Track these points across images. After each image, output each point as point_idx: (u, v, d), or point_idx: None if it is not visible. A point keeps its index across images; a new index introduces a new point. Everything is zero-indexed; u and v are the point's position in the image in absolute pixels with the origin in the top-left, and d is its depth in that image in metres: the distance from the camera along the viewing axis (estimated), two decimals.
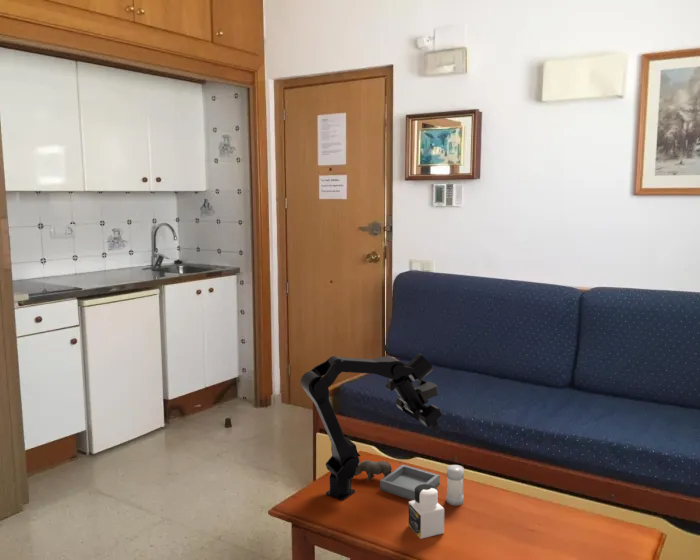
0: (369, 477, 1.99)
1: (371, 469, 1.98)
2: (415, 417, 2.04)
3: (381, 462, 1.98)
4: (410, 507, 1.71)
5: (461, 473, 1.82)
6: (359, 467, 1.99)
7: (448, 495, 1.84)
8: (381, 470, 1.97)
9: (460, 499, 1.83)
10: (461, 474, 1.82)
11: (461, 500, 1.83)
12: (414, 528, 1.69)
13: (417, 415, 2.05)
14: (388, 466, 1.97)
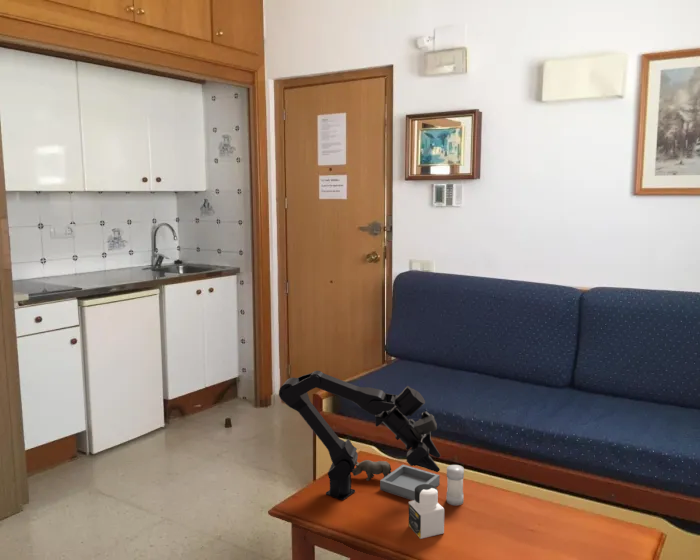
0: (369, 477, 1.99)
1: (371, 469, 1.98)
2: (429, 451, 1.89)
3: (381, 462, 1.98)
4: (410, 507, 1.71)
5: (461, 473, 1.82)
6: (359, 467, 1.99)
7: (448, 495, 1.84)
8: (381, 470, 1.97)
9: (460, 499, 1.83)
10: (461, 474, 1.82)
11: (461, 500, 1.83)
12: (414, 528, 1.69)
13: (431, 449, 1.89)
14: (388, 466, 1.98)
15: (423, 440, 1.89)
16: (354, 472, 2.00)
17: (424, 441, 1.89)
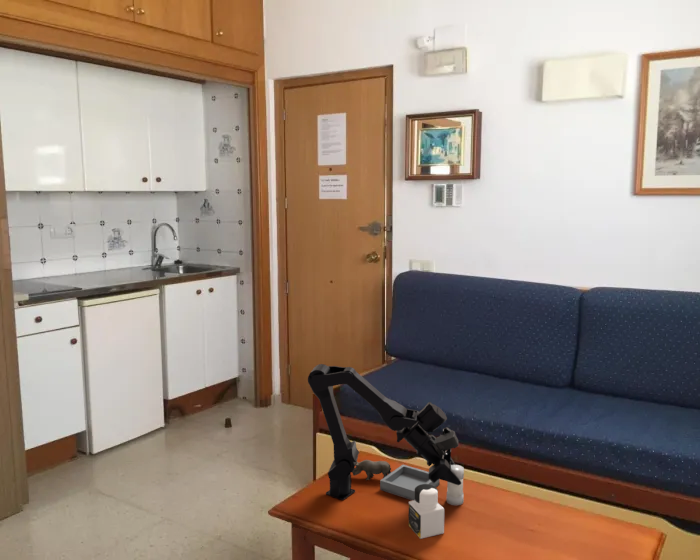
0: (368, 477, 1.99)
1: (371, 469, 1.98)
2: None
3: (380, 462, 1.98)
4: (410, 507, 1.71)
5: (461, 473, 1.82)
6: (358, 467, 1.99)
7: (448, 495, 1.84)
8: (380, 470, 1.97)
9: (460, 499, 1.83)
10: (461, 474, 1.82)
11: (461, 500, 1.83)
12: (414, 528, 1.69)
13: None
14: (387, 466, 1.98)
15: (443, 459, 1.87)
16: (354, 472, 2.00)
17: None
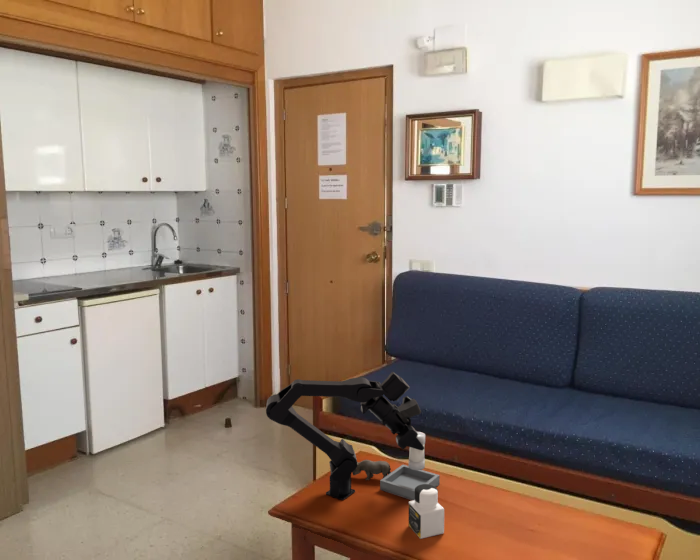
0: (368, 477, 1.99)
1: (370, 469, 1.98)
2: None
3: (380, 462, 1.98)
4: (410, 507, 1.71)
5: (424, 438, 1.89)
6: (358, 466, 1.99)
7: (411, 461, 1.90)
8: (380, 470, 1.98)
9: (423, 464, 1.90)
10: (424, 439, 1.89)
11: (423, 465, 1.90)
12: (414, 528, 1.69)
13: None
14: (387, 466, 1.98)
15: None
16: (353, 472, 2.00)
17: None
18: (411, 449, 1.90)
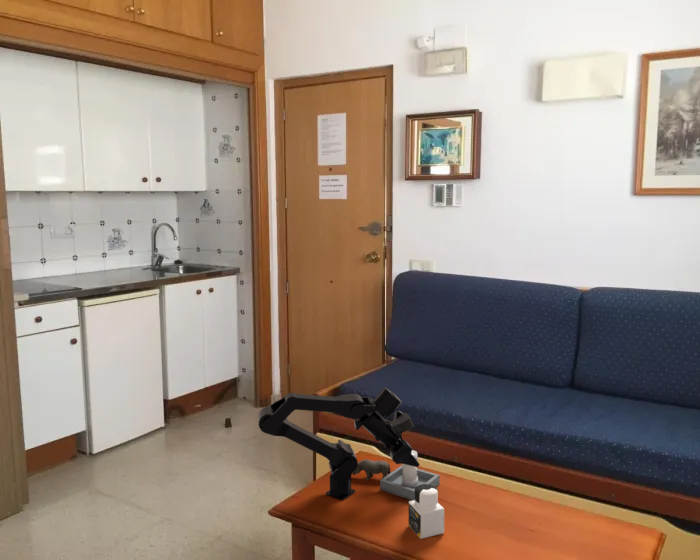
0: (368, 476, 1.99)
1: (370, 469, 1.98)
2: None
3: (380, 462, 1.98)
4: (410, 507, 1.71)
5: (416, 456, 1.91)
6: (358, 466, 2.00)
7: (404, 479, 1.92)
8: (380, 470, 1.98)
9: (416, 481, 1.92)
10: (416, 457, 1.91)
11: (417, 482, 1.93)
12: (414, 528, 1.69)
13: None
14: (387, 466, 1.98)
15: None
16: (353, 471, 2.00)
17: None
18: (404, 468, 1.92)
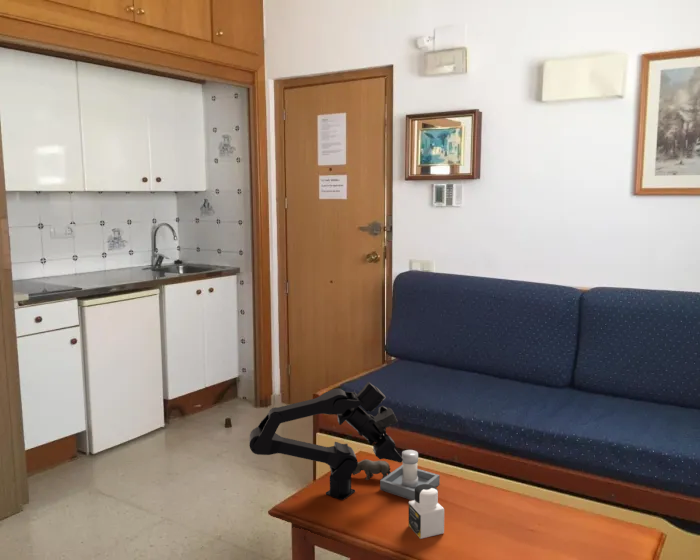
0: (368, 476, 1.99)
1: (370, 469, 1.98)
2: None
3: (380, 462, 1.99)
4: (410, 507, 1.71)
5: (417, 457, 1.91)
6: (358, 466, 2.00)
7: (405, 479, 1.92)
8: (379, 470, 1.98)
9: (416, 481, 1.92)
10: (417, 457, 1.91)
11: (417, 482, 1.93)
12: (414, 528, 1.69)
13: None
14: (386, 466, 1.98)
15: None
16: (353, 471, 2.00)
17: None
18: (404, 468, 1.92)
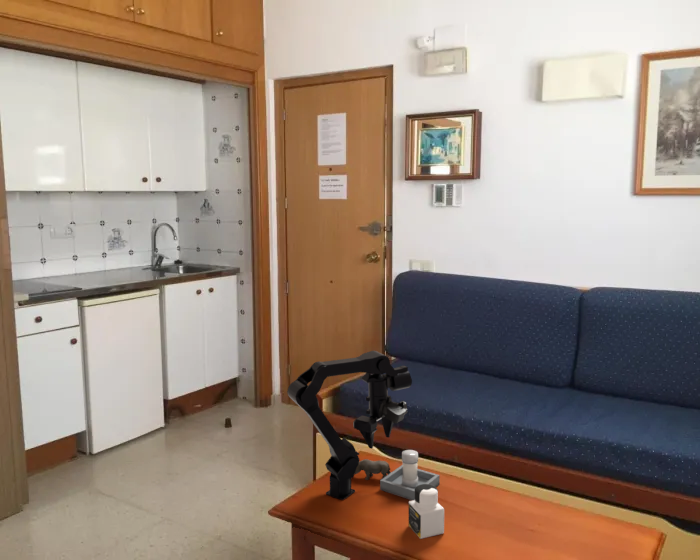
0: (367, 476, 1.99)
1: (370, 469, 1.98)
2: (384, 426, 1.99)
3: (379, 462, 1.99)
4: (410, 507, 1.71)
5: (417, 457, 1.91)
6: (358, 466, 2.00)
7: (405, 479, 1.92)
8: (379, 470, 1.98)
9: (416, 481, 1.92)
10: (417, 457, 1.91)
11: (417, 482, 1.93)
12: (414, 528, 1.69)
13: (386, 427, 1.98)
14: (386, 466, 1.98)
15: None
16: None
17: (388, 417, 1.98)
18: (404, 468, 1.92)
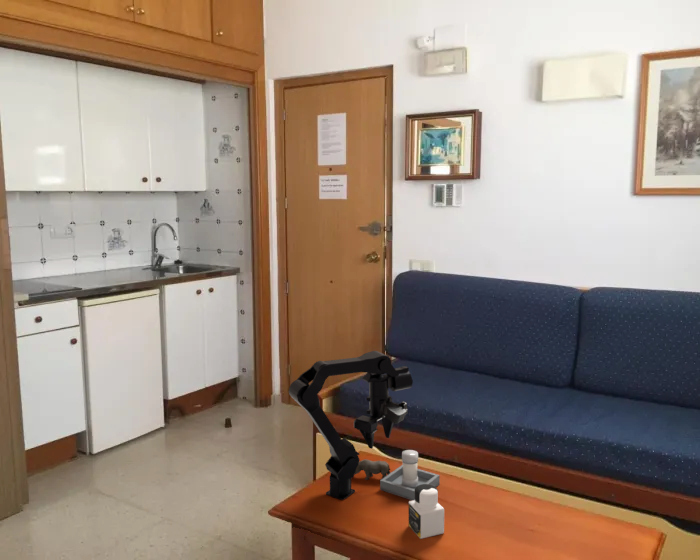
0: (367, 476, 1.99)
1: (369, 469, 1.98)
2: (384, 427, 1.99)
3: (379, 462, 1.99)
4: (410, 507, 1.71)
5: (417, 457, 1.91)
6: (358, 466, 2.00)
7: (405, 479, 1.92)
8: (379, 470, 1.98)
9: (416, 481, 1.92)
10: (417, 458, 1.91)
11: (417, 482, 1.93)
12: (414, 528, 1.69)
13: (386, 427, 1.98)
14: (386, 466, 1.98)
15: None
16: None
17: (388, 418, 1.98)
18: (404, 468, 1.92)
